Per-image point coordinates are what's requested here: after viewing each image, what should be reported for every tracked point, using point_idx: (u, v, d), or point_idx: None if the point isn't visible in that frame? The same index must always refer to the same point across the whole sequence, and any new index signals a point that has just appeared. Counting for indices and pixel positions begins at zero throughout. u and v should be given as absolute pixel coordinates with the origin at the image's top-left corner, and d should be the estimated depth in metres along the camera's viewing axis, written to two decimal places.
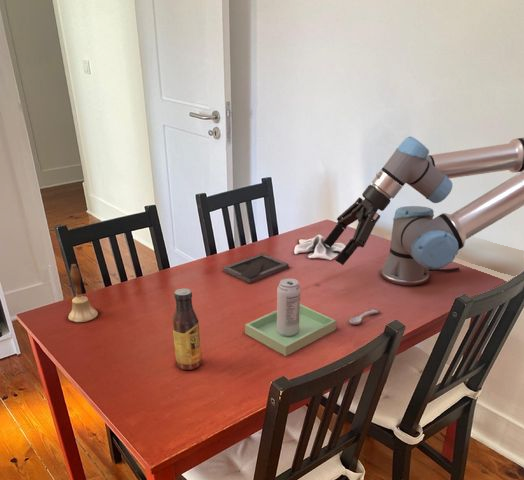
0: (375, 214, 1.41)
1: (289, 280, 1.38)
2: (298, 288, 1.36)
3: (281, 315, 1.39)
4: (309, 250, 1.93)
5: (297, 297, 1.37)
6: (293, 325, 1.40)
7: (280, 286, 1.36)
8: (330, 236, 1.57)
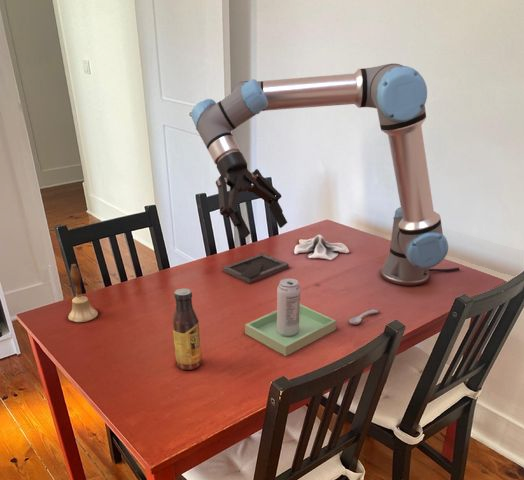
0: (217, 180, 1.34)
1: (289, 280, 1.38)
2: (298, 288, 1.36)
3: (281, 315, 1.39)
4: (309, 250, 1.93)
5: (297, 297, 1.37)
6: (293, 325, 1.40)
7: (280, 286, 1.36)
8: (276, 218, 1.42)
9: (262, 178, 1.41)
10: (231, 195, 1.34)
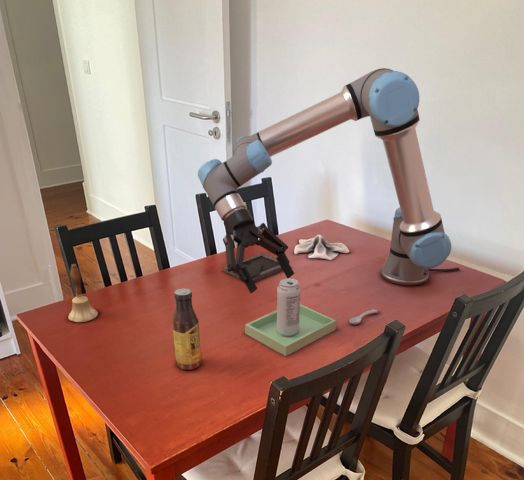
0: (224, 238, 1.39)
1: (289, 280, 1.38)
2: (298, 288, 1.36)
3: (281, 315, 1.39)
4: (309, 250, 1.93)
5: (297, 297, 1.37)
6: (293, 325, 1.40)
7: (280, 286, 1.36)
8: (283, 269, 1.46)
9: (268, 231, 1.45)
10: (238, 252, 1.38)
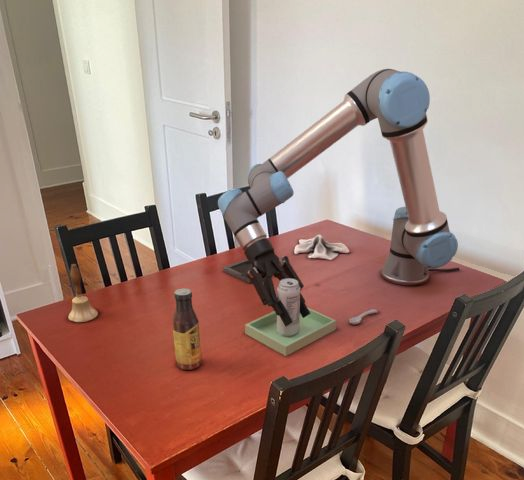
0: (248, 274, 1.37)
1: (289, 280, 1.38)
2: (298, 288, 1.36)
3: None
4: (309, 250, 1.93)
5: (297, 297, 1.36)
6: (293, 325, 1.40)
7: (280, 286, 1.36)
8: None
9: (289, 265, 1.42)
10: (267, 285, 1.38)
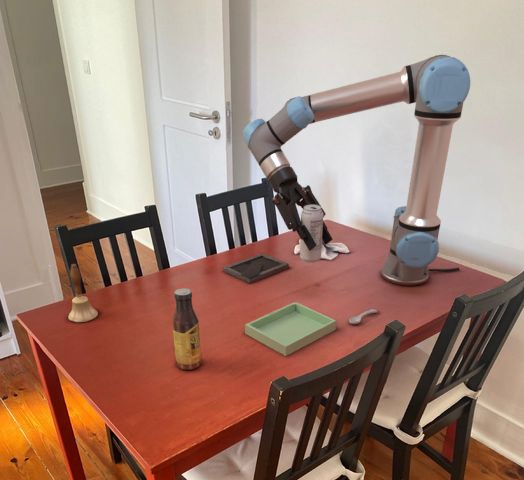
0: (273, 199, 1.43)
1: (312, 206, 1.44)
2: (321, 212, 1.42)
3: None
4: None
5: (320, 221, 1.43)
6: (316, 250, 1.46)
7: (304, 211, 1.42)
8: None
9: (311, 194, 1.48)
10: (292, 210, 1.44)
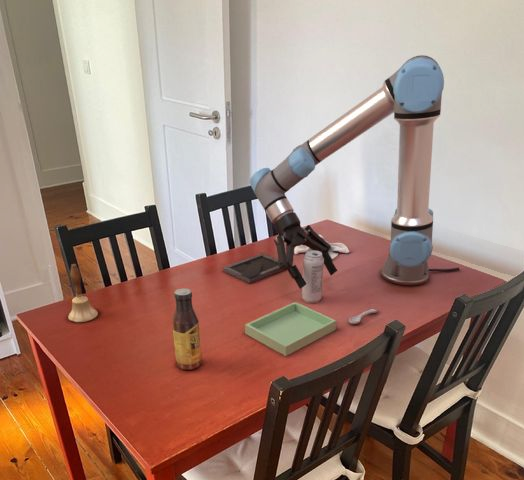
0: (275, 239, 1.54)
1: (314, 252, 1.55)
2: (322, 258, 1.53)
3: (307, 283, 1.56)
4: (309, 250, 1.93)
5: (321, 267, 1.54)
6: (316, 292, 1.58)
7: (306, 257, 1.53)
8: (327, 267, 1.61)
9: (313, 232, 1.60)
10: (288, 251, 1.54)
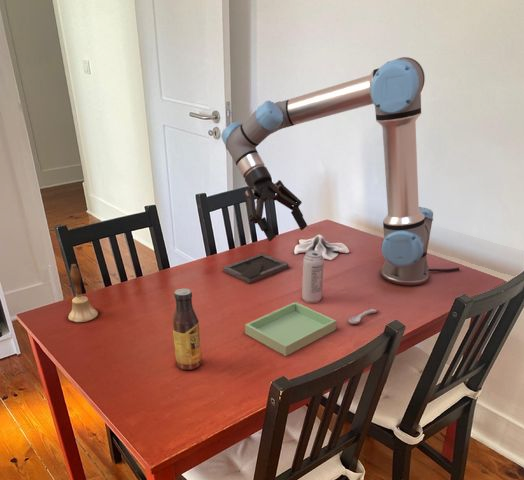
0: (245, 192, 1.56)
1: (314, 252, 1.55)
2: (322, 258, 1.53)
3: (307, 283, 1.56)
4: (309, 250, 1.93)
5: (321, 267, 1.54)
6: (316, 292, 1.58)
7: (306, 257, 1.53)
8: (297, 222, 1.63)
9: (284, 188, 1.62)
10: (258, 204, 1.56)
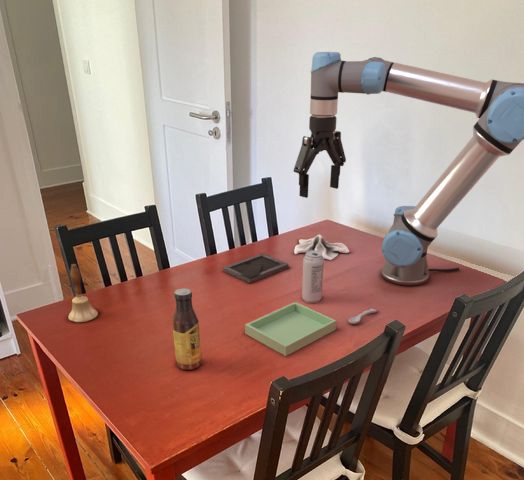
0: (304, 138, 1.46)
1: (314, 252, 1.55)
2: (322, 258, 1.53)
3: (307, 283, 1.56)
4: (309, 250, 1.93)
5: (321, 267, 1.54)
6: (316, 292, 1.58)
7: (306, 257, 1.53)
8: (331, 178, 1.62)
9: (339, 141, 1.55)
10: (309, 157, 1.49)
